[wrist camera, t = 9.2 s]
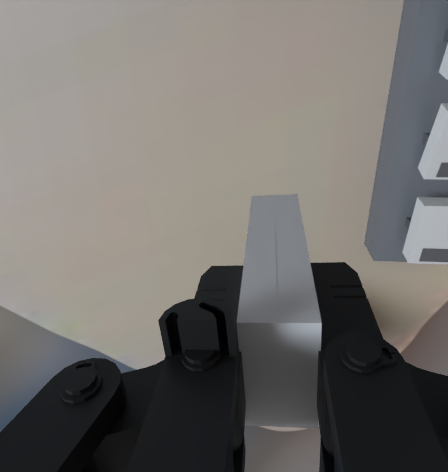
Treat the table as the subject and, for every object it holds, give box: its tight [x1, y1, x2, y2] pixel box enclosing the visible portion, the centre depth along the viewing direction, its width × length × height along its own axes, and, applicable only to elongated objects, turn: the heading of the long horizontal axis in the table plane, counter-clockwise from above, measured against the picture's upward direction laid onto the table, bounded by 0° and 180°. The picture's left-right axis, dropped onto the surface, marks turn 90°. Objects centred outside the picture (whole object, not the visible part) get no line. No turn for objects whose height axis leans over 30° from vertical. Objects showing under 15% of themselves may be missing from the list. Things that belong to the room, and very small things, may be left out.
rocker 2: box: [402, 197, 448, 264], centre depth 34 cm, size 6×5×2 cm
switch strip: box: [364, 0, 448, 262], centre depth 34 cm, size 28×9×5 cm, turn 1°
